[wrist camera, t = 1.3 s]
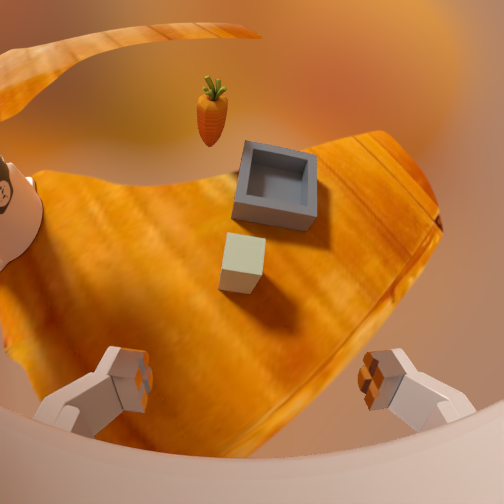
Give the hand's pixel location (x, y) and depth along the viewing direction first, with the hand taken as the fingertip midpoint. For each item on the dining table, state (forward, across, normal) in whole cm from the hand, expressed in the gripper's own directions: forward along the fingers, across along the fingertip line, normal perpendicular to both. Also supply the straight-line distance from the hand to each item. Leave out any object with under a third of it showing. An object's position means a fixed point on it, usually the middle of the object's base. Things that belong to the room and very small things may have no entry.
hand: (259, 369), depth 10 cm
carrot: (+46, +6, -8) cm, 47 cm away
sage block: (+30, +1, +10) cm, 32 cm away
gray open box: (+40, -5, 0) cm, 40 cm away
